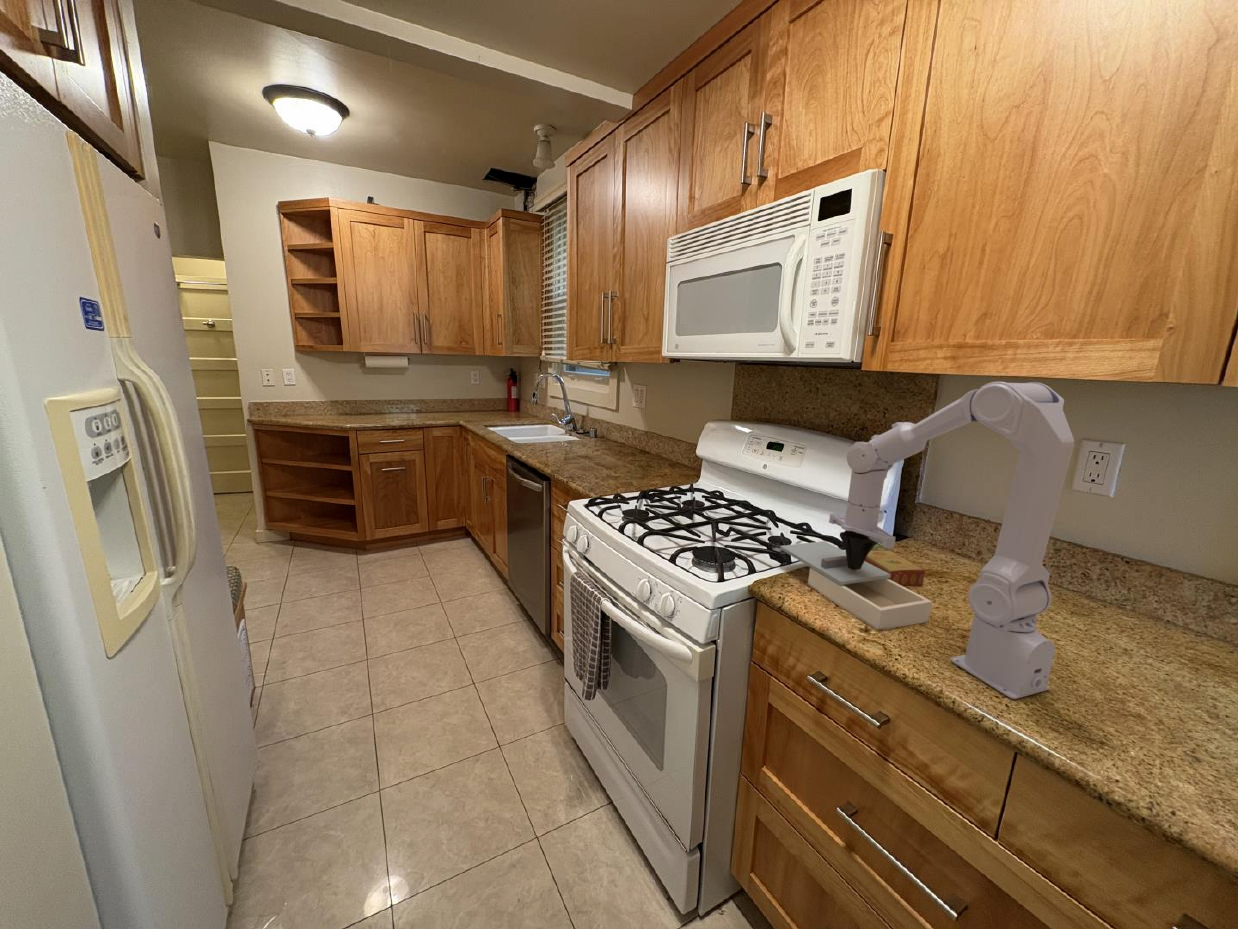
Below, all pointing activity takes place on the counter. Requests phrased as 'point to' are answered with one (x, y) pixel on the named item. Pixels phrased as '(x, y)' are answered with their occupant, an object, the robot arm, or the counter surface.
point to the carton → (896, 566)
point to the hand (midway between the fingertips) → (854, 568)
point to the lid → (833, 563)
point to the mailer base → (875, 601)
